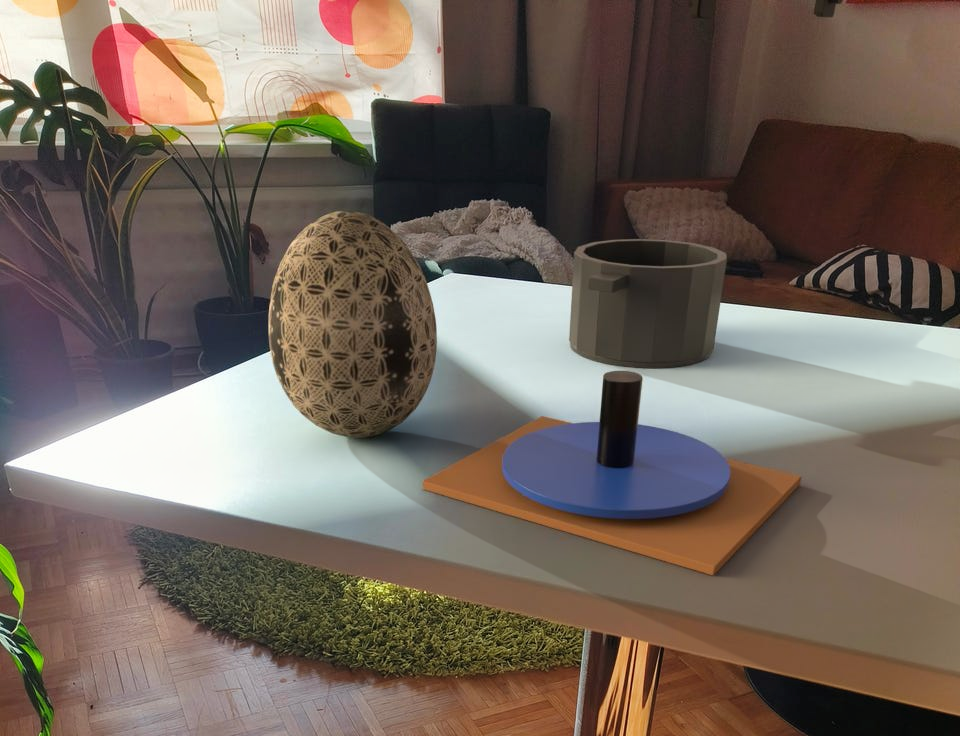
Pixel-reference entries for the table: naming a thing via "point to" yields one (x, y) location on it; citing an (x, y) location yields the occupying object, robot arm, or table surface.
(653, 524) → the cork mat
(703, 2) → the robot arm
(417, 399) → the decorative egg
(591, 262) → the pot
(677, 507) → the blue lid
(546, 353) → the table surface
